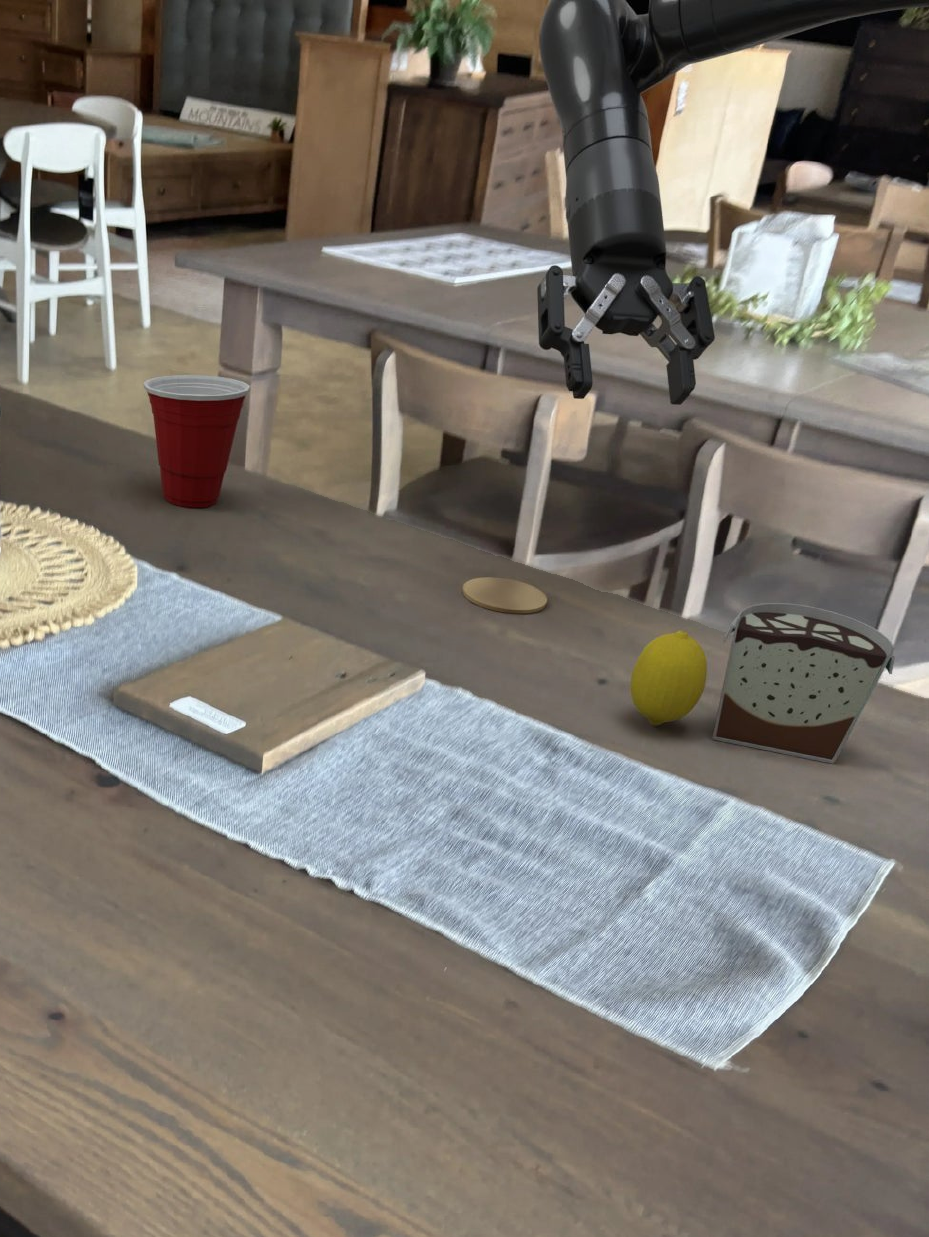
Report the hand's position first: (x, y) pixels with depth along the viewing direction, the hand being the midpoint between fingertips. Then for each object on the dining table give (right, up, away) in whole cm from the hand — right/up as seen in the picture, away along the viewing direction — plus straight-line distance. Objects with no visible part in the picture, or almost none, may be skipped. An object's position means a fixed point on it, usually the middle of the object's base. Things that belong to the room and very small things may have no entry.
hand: (632, 396), depth 108 cm
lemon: (+1, -27, -1) cm, 27 cm away
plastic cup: (-37, +2, +34) cm, 51 cm away
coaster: (-7, -12, +19) cm, 23 cm away
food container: (+11, -28, 0) cm, 30 cm away
